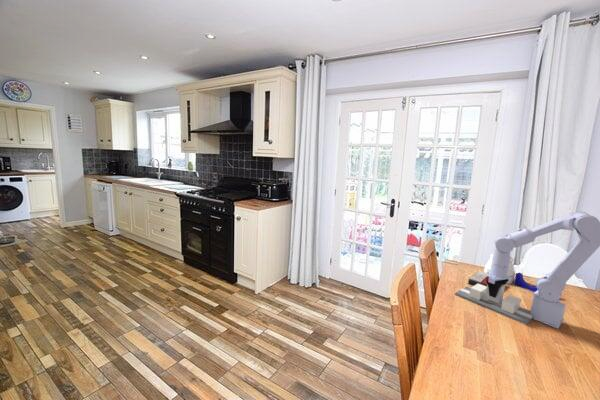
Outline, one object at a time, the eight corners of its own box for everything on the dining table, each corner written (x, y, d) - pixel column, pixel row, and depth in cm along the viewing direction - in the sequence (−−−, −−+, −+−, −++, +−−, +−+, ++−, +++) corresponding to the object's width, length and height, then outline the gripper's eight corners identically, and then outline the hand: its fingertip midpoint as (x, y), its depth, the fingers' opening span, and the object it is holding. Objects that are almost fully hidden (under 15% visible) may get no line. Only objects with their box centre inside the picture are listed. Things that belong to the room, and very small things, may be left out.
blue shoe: (547, 294, 128) (550, 282, 127) (543, 295, 126) (545, 283, 125) (518, 283, 139) (520, 272, 138) (514, 284, 137) (516, 273, 136)
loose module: (502, 300, 115) (505, 284, 114) (498, 303, 112) (501, 287, 111) (488, 295, 119) (491, 280, 117) (484, 297, 116) (487, 282, 115)
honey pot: (499, 284, 136) (505, 250, 133) (477, 273, 148) (483, 241, 146) (519, 283, 139) (526, 249, 136) (497, 272, 151) (502, 241, 148)
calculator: (468, 277, 134) (478, 269, 143) (467, 285, 134) (477, 276, 144) (494, 286, 125) (503, 276, 135) (493, 295, 126) (502, 284, 136)
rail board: (535, 315, 109) (536, 312, 109) (526, 324, 102) (527, 322, 102) (466, 288, 129) (466, 285, 129) (454, 294, 122) (455, 292, 122)
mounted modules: (519, 307, 111) (521, 299, 111) (513, 313, 107) (514, 304, 106) (476, 291, 124) (477, 283, 123) (469, 296, 119) (470, 287, 119)
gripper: (495, 258, 120) (490, 286, 122) (482, 264, 112) (477, 295, 114) (514, 263, 115) (509, 293, 117) (502, 271, 106) (496, 303, 108)
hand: (494, 294), depth 115 cm, fingers closed on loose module, 4 cm apart
